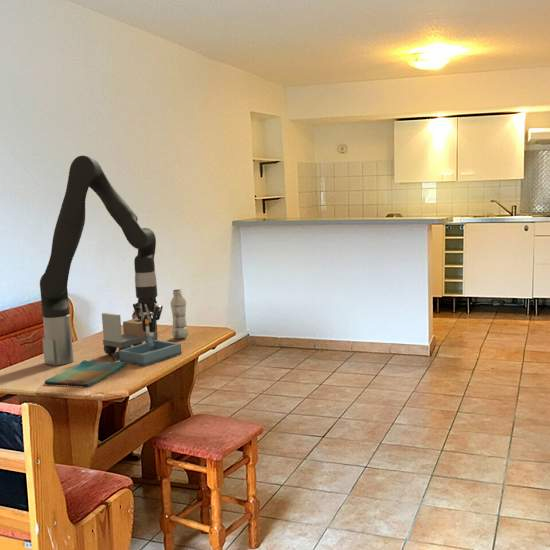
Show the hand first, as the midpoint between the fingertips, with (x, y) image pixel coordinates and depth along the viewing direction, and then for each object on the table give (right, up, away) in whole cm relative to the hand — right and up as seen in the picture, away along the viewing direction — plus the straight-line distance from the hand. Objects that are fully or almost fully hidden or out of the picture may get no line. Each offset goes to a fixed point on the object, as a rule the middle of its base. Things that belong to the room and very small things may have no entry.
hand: (149, 331), depth 230 cm
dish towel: (-17, -14, -17) cm, 28 cm away
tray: (0, -10, +1) cm, 10 cm away
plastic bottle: (+7, -6, +30) cm, 31 cm away
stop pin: (0, -5, +1) cm, 5 cm away
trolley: (-9, -9, +12) cm, 17 cm away
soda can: (-9, -6, +32) cm, 34 cm away
